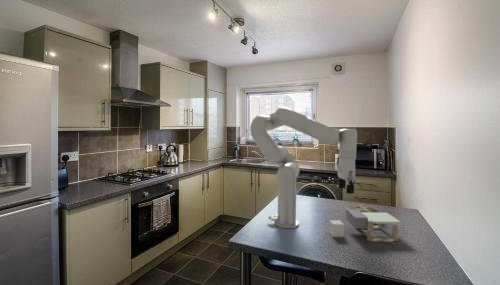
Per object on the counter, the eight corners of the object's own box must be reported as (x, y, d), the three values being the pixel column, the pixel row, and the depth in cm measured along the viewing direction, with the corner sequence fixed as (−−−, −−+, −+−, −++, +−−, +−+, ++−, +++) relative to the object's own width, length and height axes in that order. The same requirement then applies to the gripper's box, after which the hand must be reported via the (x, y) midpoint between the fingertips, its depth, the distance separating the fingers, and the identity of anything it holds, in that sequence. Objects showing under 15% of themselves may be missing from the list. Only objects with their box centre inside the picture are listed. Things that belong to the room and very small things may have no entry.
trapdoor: (355, 228, 114) (355, 217, 113) (345, 218, 126) (346, 209, 125) (400, 229, 113) (401, 218, 113) (386, 219, 125) (387, 209, 125)
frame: (368, 241, 112) (368, 221, 112) (354, 227, 127) (355, 210, 127) (397, 241, 112) (398, 221, 111) (380, 227, 127) (381, 210, 127)
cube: (332, 236, 117) (333, 224, 116) (329, 232, 122) (329, 220, 121) (343, 237, 116) (343, 224, 116) (339, 232, 121) (340, 220, 121)
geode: (349, 221, 149) (350, 226, 135) (343, 206, 151) (344, 209, 137) (378, 214, 144) (383, 218, 130) (372, 198, 146) (376, 200, 132)
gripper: (333, 152, 127) (331, 186, 129) (346, 157, 110) (345, 195, 111) (348, 153, 128) (346, 186, 129) (363, 157, 110) (361, 195, 112)
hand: (345, 190), depth 120 cm, fingers open, 9 cm apart
